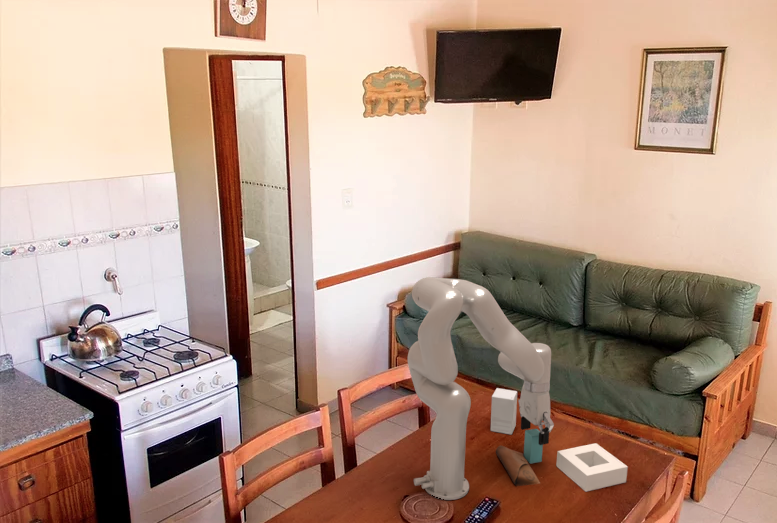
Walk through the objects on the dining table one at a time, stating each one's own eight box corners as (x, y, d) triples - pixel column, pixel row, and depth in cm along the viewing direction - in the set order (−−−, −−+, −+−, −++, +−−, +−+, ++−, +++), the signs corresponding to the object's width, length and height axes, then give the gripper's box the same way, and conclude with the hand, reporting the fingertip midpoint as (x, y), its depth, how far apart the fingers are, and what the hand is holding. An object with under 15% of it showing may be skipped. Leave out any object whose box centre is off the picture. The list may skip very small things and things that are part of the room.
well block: (585, 491, 179) (587, 475, 178) (556, 466, 192) (557, 451, 191) (625, 482, 184) (627, 466, 183) (594, 457, 197) (596, 443, 196)
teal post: (529, 463, 193) (531, 436, 191) (523, 456, 197) (525, 430, 195) (541, 461, 195) (543, 434, 192) (534, 454, 198) (536, 428, 196)
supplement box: (516, 425, 217) (518, 390, 214) (511, 435, 210) (513, 399, 207) (494, 421, 219) (496, 387, 216) (489, 431, 213) (491, 395, 210)
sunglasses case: (543, 484, 183) (533, 467, 181) (522, 497, 183) (511, 480, 181) (520, 451, 200) (511, 435, 198) (501, 463, 200) (492, 447, 198)
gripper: (510, 375, 197) (508, 425, 201) (542, 398, 181) (539, 452, 185) (531, 371, 199) (529, 421, 204) (564, 394, 184) (561, 447, 188)
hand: (534, 436), depth 194 cm, fingers open, 9 cm apart
